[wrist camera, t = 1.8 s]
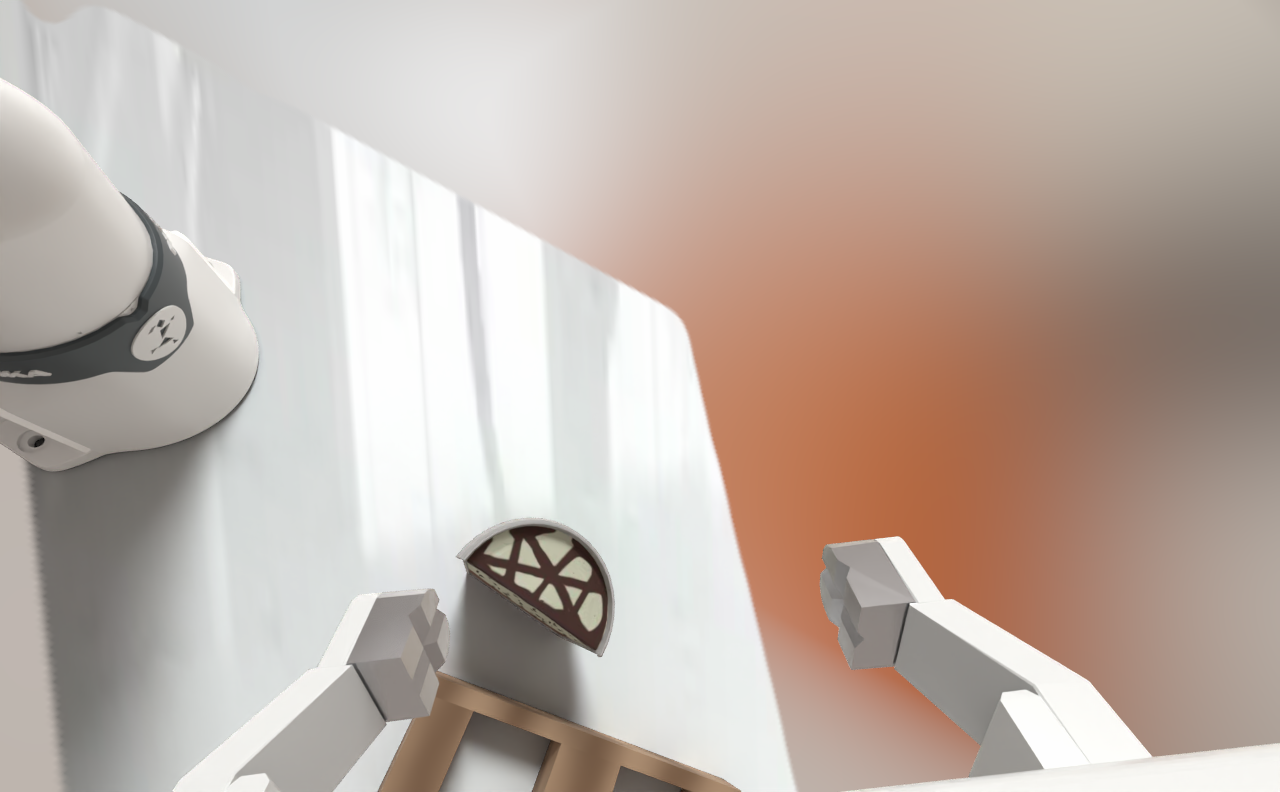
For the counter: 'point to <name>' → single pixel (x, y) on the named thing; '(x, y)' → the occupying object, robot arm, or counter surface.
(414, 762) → the socket rail
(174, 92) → the counter surface
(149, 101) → the counter surface
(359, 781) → the counter surface
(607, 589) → the food container
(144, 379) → the robot arm
